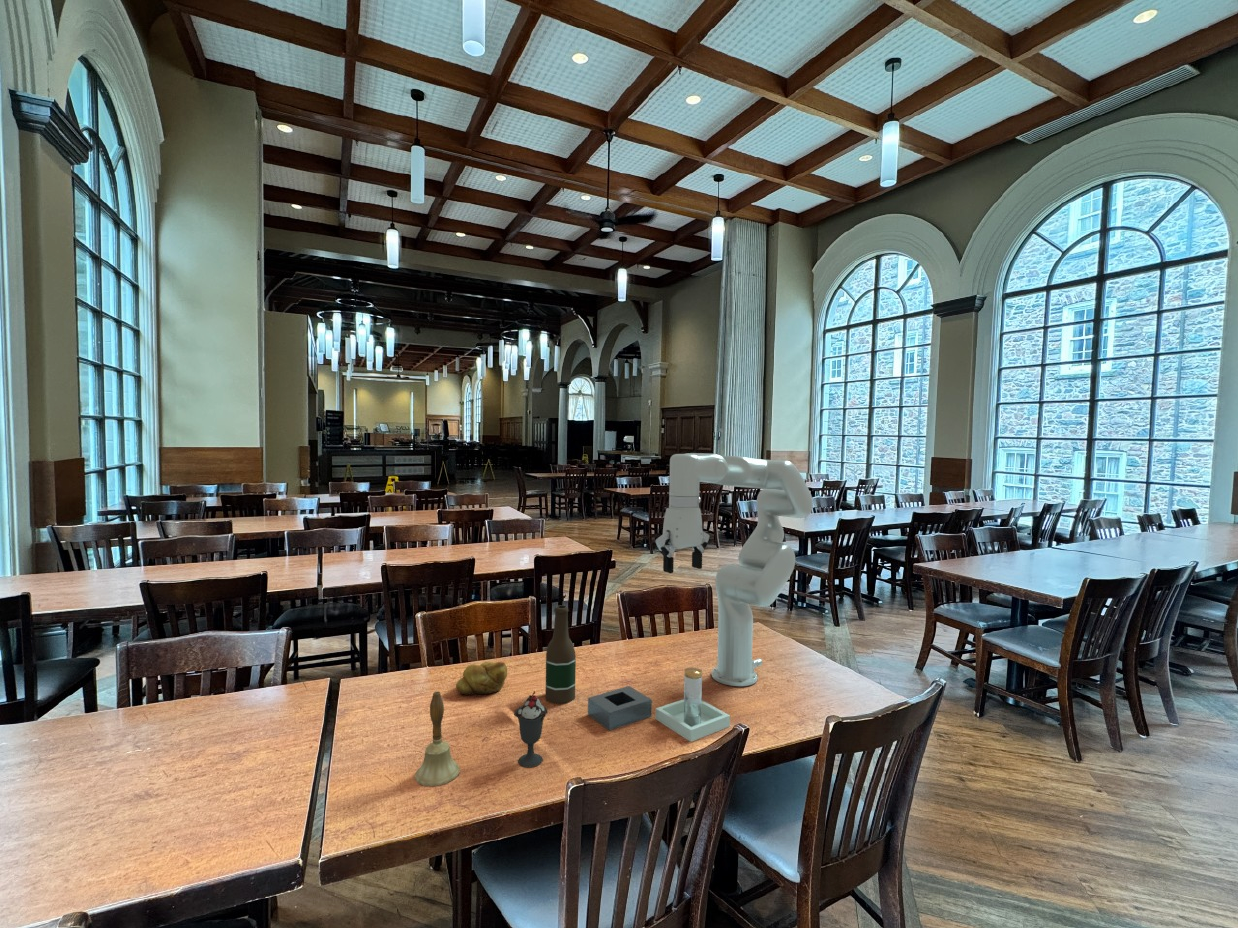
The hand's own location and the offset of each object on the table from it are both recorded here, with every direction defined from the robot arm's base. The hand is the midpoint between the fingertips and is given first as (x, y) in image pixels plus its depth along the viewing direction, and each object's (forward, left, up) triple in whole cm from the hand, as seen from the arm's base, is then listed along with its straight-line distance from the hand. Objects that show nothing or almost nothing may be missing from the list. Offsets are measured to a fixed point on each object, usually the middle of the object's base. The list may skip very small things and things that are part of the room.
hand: (682, 570), depth 140 cm
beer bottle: (+26, -16, -34) cm, 45 cm away
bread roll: (+40, -33, -34) cm, 62 cm away
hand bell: (+61, -2, -34) cm, 70 cm away
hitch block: (+19, 0, -33) cm, 38 cm away
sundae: (+44, +4, -34) cm, 55 cm away
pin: (+7, +12, -32) cm, 35 cm away
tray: (+7, +12, -33) cm, 36 cm away
